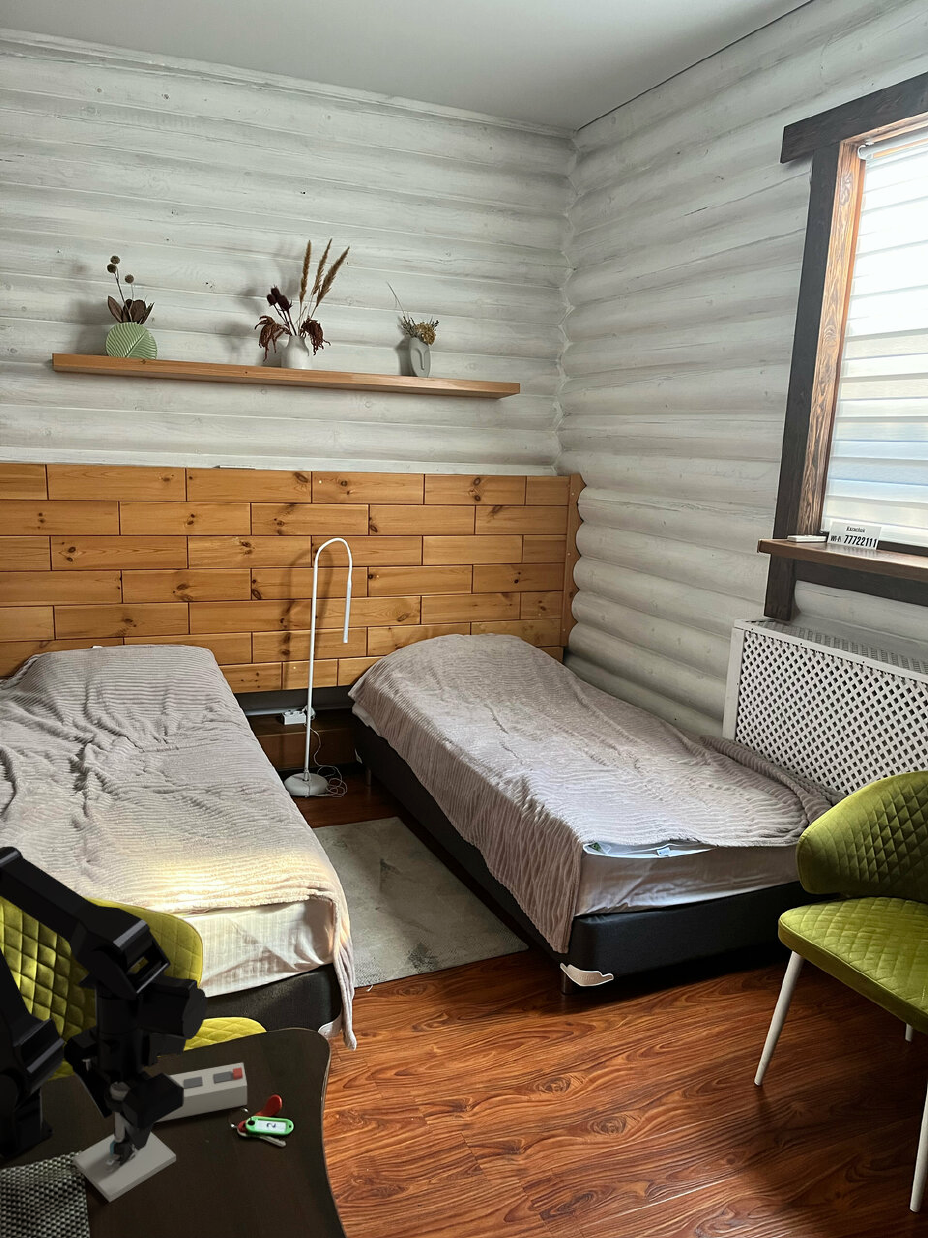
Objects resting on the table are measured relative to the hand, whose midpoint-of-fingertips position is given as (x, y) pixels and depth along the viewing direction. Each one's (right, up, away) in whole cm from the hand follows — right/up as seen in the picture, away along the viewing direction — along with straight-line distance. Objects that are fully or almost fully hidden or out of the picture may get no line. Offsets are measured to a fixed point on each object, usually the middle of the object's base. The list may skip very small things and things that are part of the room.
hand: (123, 1132), depth 116 cm
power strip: (+5, -2, +12) cm, 13 cm away
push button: (0, -4, +1) cm, 4 cm away
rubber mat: (0, -4, +1) cm, 4 cm away
